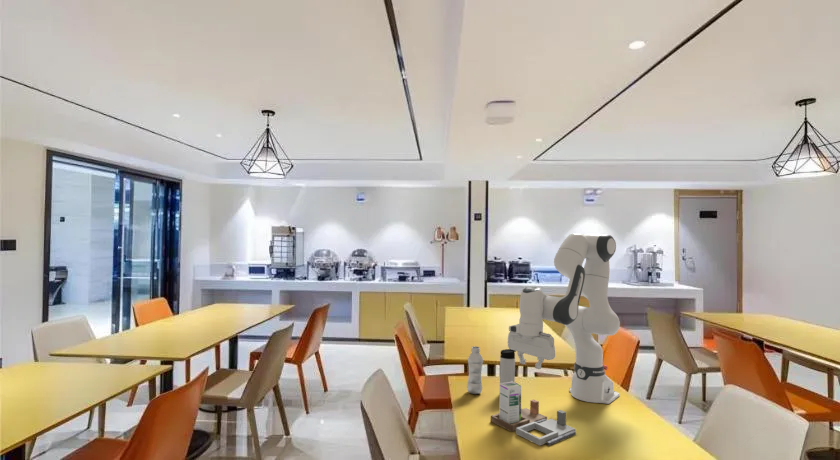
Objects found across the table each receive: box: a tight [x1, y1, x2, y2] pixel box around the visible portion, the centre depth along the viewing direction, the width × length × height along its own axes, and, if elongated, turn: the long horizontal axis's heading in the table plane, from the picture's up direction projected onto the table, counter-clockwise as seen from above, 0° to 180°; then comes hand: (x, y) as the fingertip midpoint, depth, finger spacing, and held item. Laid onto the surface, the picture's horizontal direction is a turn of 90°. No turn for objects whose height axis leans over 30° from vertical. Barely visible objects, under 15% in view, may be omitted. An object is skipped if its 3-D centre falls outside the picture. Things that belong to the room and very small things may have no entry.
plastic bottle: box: [466, 345, 484, 395], centre depth 181 cm, size 6×7×20 cm
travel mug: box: [499, 348, 517, 384], centre depth 179 cm, size 6×7×20 cm
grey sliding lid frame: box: [515, 409, 576, 447], centre depth 144 cm, size 20×10×5 cm, turn 126°
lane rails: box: [536, 418, 577, 447], centre depth 149 cm, size 15×25×1 cm, turn 36°
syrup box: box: [498, 381, 522, 424], centre depth 150 cm, size 6×6×14 cm
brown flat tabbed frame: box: [490, 399, 548, 432], centre depth 153 cm, size 20×10×5 cm, turn 126°
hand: (530, 366), depth 157 cm, fingers open, 6 cm apart
